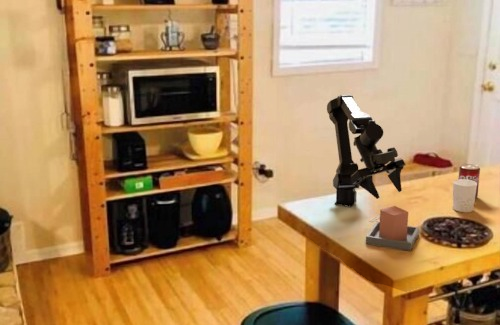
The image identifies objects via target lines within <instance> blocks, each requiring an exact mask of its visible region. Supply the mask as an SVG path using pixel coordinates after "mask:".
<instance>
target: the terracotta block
mask: <svg viewBox="0 0 500 325" xmlns="http://www.w3.org/2000/svg"><path fill="white" fill-rule="evenodd" d="M379 214H380V218H379V222H380V226H379V236H380V237H382V238H386V239H392V240H399V241H400V240H404V239H407V226H409V224H408V223H409V211H407V210H406V209H403V208H400V207H398V206H396V205H392V206H389V207H385V208H381V209H380V210H379Z"/></svg>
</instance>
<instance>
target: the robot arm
mask: <svg viewBox="0 0 500 325" xmlns="http://www.w3.org/2000/svg"><path fill="white" fill-rule="evenodd" d="M326 112H327V114H328V117H329V120H330V121H331V122H332V123H333V125H334V128H335V136H336V145H337V152H338V153H337V154H338V160H339V163H338V166H337V168H336V170H335V172H336V174H335V175H334V177H333V179H332V187H334V188H335V189H336V190H335V191H336V193H335V194H336V198H335V199H336V200H335V202H334V205H336V206H337V205H339V206H344V207H350V208H351V207H353V206H354V205H355V204H356V202H357V190H356V189H360V187H361V188H362V189H364V190H366V191H367V192H368V194H369V193H370V195H372V196H373V197H374V198H375V199H377V200H378V199H379V198H380V194H379V192H378V189H377V188H376V186H375V183H374V182H373V181H374V179H373V178H374V177H373V176H375V175H378V174H382V173H385V172H386V173H387V177H388V178H389V180H390V182H391V183H392V184H393V186H394V188H395V189H396V190H397V192H398V193H401V192H402V189H403V188H402V182H401V180H402V179H401V172H402V170H403V169H404V167H405V166H406V163H405V160H404V159H402V157H401V158H397V157H398V156H399V154H398V151H397V149H396V147H395V146H394V147H390V148H387V149H386V151H385V152H383V151H382V150H383V149H382V150H381V149H380V148H379V149H378V148H377V146H376V145H377V144H378V142H380V140H381V139H382V137H383V135H384V129H383V128H382V126H381V125H380V124H377V123H376V120H374V118H372V117H371V116H370V114H368V113H366V112H363V111H362V110H361V108H360V107H359V105H358V104H357V103H356V102H355V99H354V95H353V94H352V95H351V94H340V95H338V96H337V97H335V98H333V99H331V100H329V101H328V103H327V105H326ZM349 131H350V132H351V134H352V135H358V136H356V137H354V140H353V143H352V144H353V146H354V147H356V149H357V151H358V153H359V155H360V157H361V158H360V159H359V160H360V162H361V163H364V165H365V167H363V168H361V169H360V168H359V164H358V163H357V162H354V160H353V154H352V147H351V141H350V132H349Z"/></svg>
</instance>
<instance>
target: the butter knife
mask: <svg viewBox="0 0 500 325" xmlns="http://www.w3.org/2000/svg"><path fill="white" fill-rule="evenodd" d="M378 219H379V220H380V213H378V215H376V216H375V217H374V218H372V219H370V220H369V221H368V222H369V223H373V222H374V221H378Z"/></svg>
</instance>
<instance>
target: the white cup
mask: <svg viewBox="0 0 500 325" xmlns="http://www.w3.org/2000/svg"><path fill="white" fill-rule="evenodd" d="M476 188H477V183H476V182H475V181H472V180H467V179H454V180H453V182H452V209H453V210H454V211H456V212H459V213H471V212H473V211H474V206H475V201H476V199H475V196H476Z"/></svg>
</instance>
